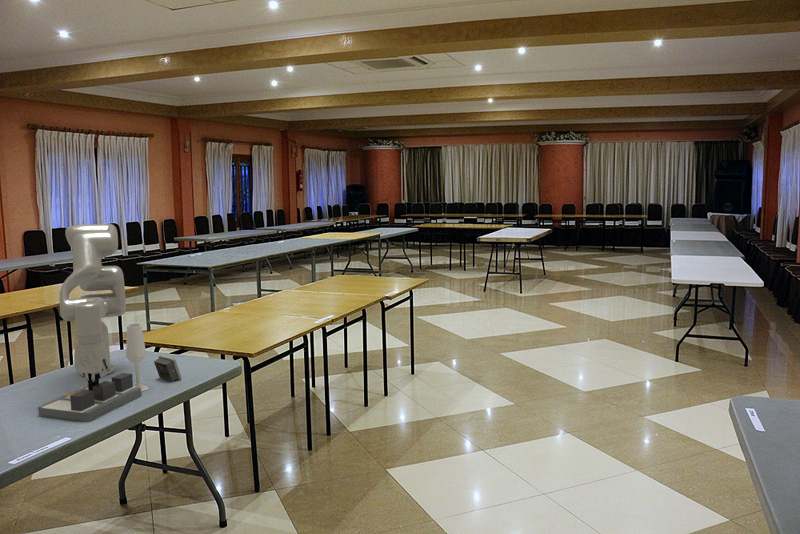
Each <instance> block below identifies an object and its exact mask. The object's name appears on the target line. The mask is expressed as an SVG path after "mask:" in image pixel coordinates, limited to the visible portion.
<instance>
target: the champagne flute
mask: <svg viewBox="0 0 800 534" xmlns="http://www.w3.org/2000/svg"><path fill="white" fill-rule="evenodd" d="M143 332H144V331H143V327H142V324H141V323H130V324H128V325H126V345H125V346H126V349H125V351H126V352H125V356H126V359H127V360H128V361H130V362H131V363H133V364H134V365H135V367H134V368H135V378H136V379H135V381H136V383H135V385H134V384H133V386H137V388H141V392H143V391H147V390H148V389H149V386H147V385H145V384H142V383H141V381H140V380H141V379H140V378H141V377H140V364H139V363H141V362H142V361H143V360H144V359H145V357H146V355H147V349H146V345H145V344H146V343H145V339H144V338H145V337H144V333H143Z"/></svg>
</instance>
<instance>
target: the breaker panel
mask: <svg viewBox="0 0 800 534" xmlns="http://www.w3.org/2000/svg"><path fill="white" fill-rule="evenodd" d="M110 379H111V382H115V392H116V395H114V396H112V397H110V398H108V399H106V400H95V399H94V391H90V390H89V389H88V385H87V386H84V387H82V388H78V389H77V390H75V391H71V392H69V393H67V394H65V395H63V396H61V397H58V398H55V399H53V400H51V401H48V402H46V403H44V404H42V405H39V406H38V408H37V410H38V416H40V417H46V418H55V419H61V420H69V419H71V420H72V421H77V420H79V422H85V421H87V423H91V422H93V421H94V419H95V420H97V419H99V418H100V417H102V416H105V415H106V414H109V413H110V412H112V411H115V410H117V409H118V408H120V407H122V406H124V405H127V404H128V403H130V402H132V401H134V400H137V399H139V398H140V397H142V391H141V388H137V386H134V382H133V381H134V380H133V373H129V372H128V373H127V372H122V373H119V374H116V375H114V376H112V377H111V378H110ZM98 417H99V418H98ZM96 418H97V419H96ZM92 420H93V421H92ZM90 421H91V422H90Z"/></svg>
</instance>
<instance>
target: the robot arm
mask: <svg viewBox="0 0 800 534" xmlns="http://www.w3.org/2000/svg"><path fill="white" fill-rule="evenodd" d="M64 232H65V234H64V235H65V238H66V240H67V243H68V245H69V247H70V248H71V250H72V265H73V266H72V267H73V268H72V269H73V272H72V273H71V274H70V275H69V276H68V277H67V278H66V279H65V280H64V281H63V283H62V284H61V287H60V290H59V312H60V313H59V314H60V317H61V318H62V319H63V320H64V321H67V322H74V321H75V327H76V335H75V338H76V339H77V342H76V343H75V346H74V353H73V354H74V355H73V356H74V369H75V371H76V372H77V373H78V374H79V375H80V376H81V377H83V378H85V380H86V382H87V386H88V389H89V390H90V391H93V386H95V385H97V384H99V383H100V380H101V378H102V377H105V376H107V375H109V374H112V373H114V372H115V371H116V366H114V365H111V355H110V340H109V338H110V337H109V330H108V326H107V325H106V323H105V322H104V321H103V320H102V319H103V318H113V317H120V316H123V315H125V313H126V312H127V311H126V309H127V301H126V289H125V278H124V272H123V270H122V268H121V267H119V266H118V265H103V264H102V256H103V255H115V254H116V253H117V252H118V248H119V237H118V229H117V227H116V226H115V225H114V224H111V223H98V224H97V223H95V224H94V223H93V224H90V223H89V224H74V225H70V226H68V227H67V228H66V229H65V231H64ZM78 286H79V288H80V290H81V291H84V292H99V291H101V292H102V291H111V292H106V293H105V292H104V293H90V294H84V295H81V296H80V297H77V298H70V295H71V292H72V291H73V290H74V289H75V288H78Z"/></svg>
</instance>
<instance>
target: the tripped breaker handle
mask: <svg viewBox="0 0 800 534" xmlns="http://www.w3.org/2000/svg"><path fill="white" fill-rule="evenodd" d="M93 391H94V399H95V400H106V399H108V398H110V397H112V396H114V395H116V392H115V382H112V381H106V380H105V381H102V382H99V384H97V385H95V386H93Z"/></svg>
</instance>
